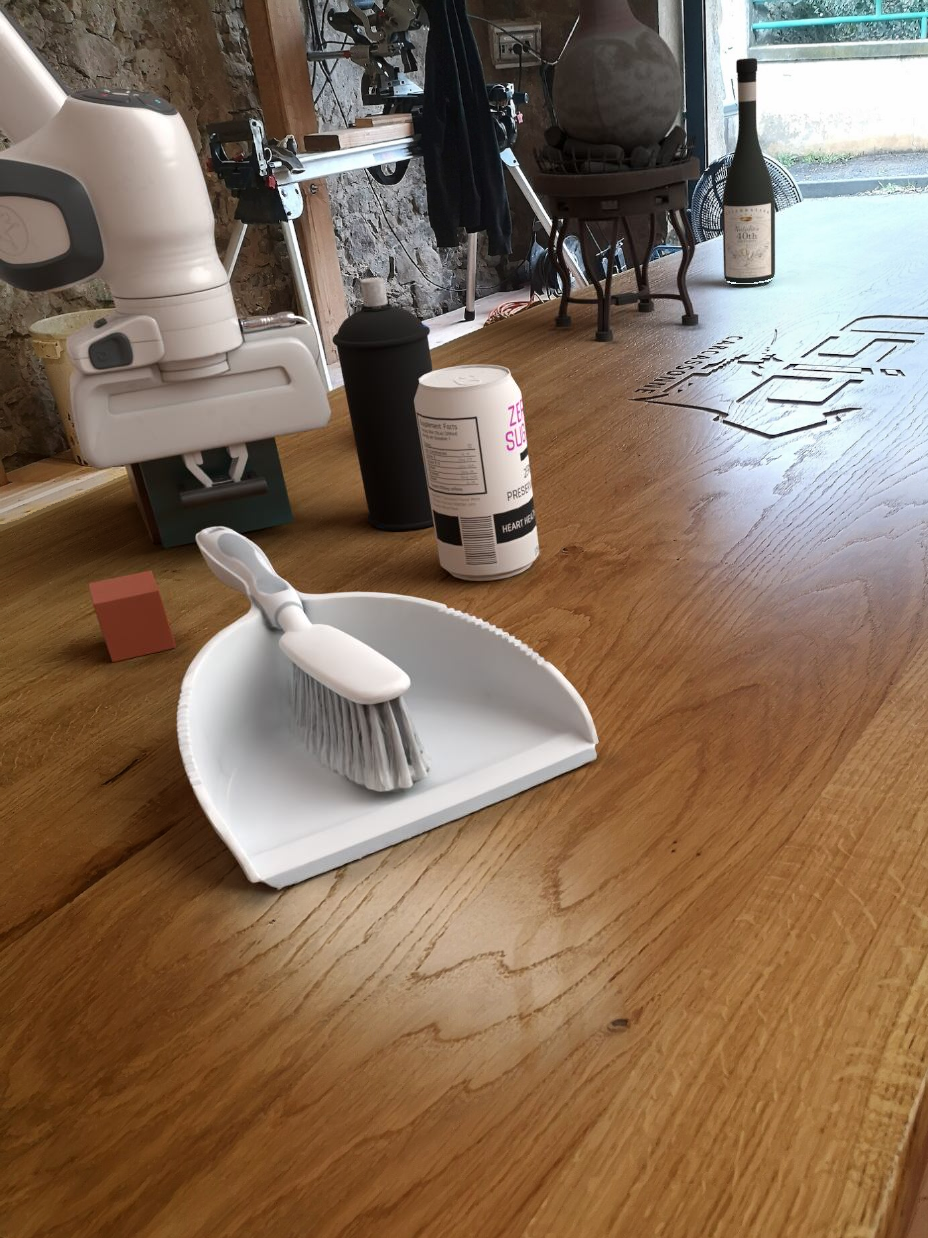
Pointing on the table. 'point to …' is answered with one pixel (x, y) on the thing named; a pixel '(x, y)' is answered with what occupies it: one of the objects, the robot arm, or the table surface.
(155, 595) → the block
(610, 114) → the brazier
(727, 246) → the wine bottle
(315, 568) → the table surface
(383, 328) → the aerosol can
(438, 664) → the dustpan and brush
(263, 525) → the drawer
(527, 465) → the supplement can
